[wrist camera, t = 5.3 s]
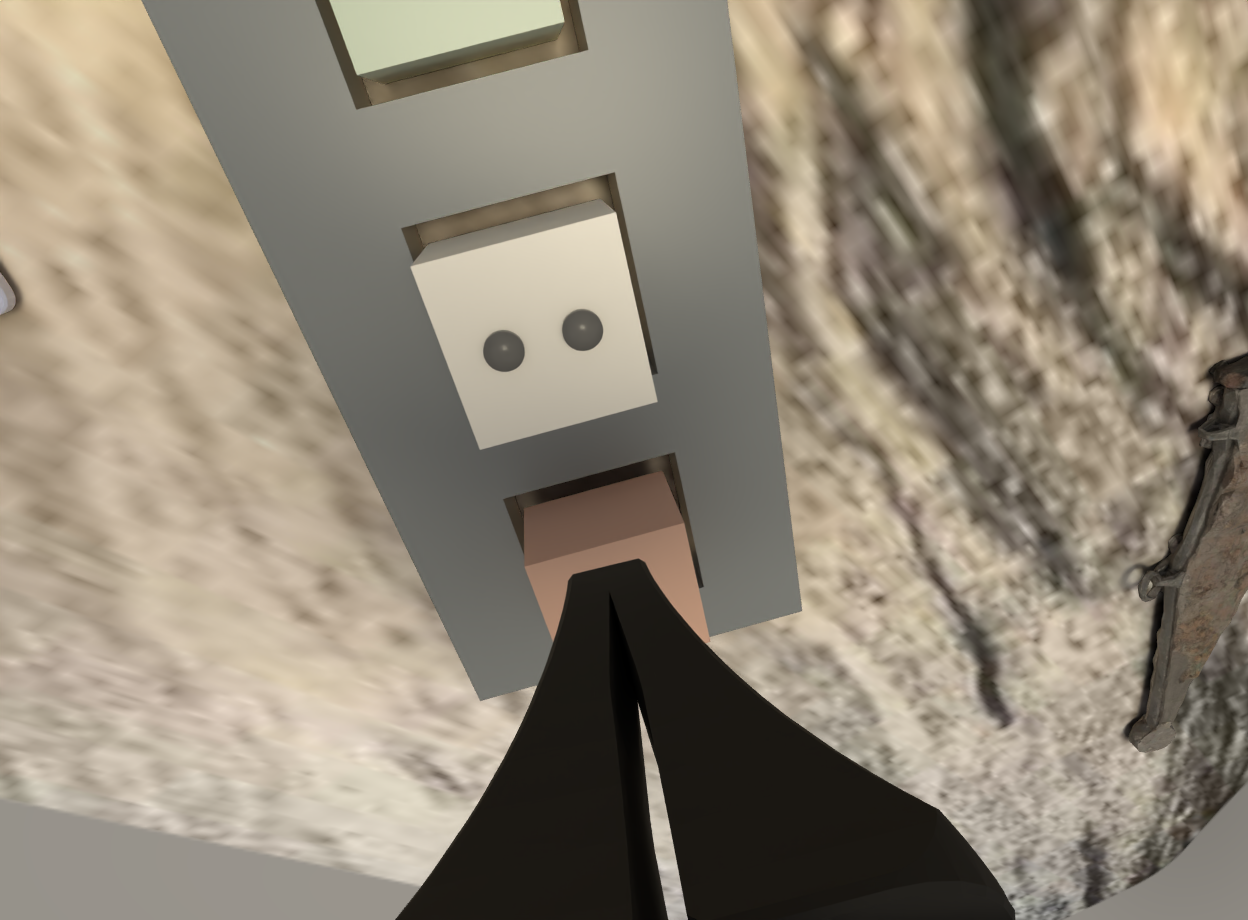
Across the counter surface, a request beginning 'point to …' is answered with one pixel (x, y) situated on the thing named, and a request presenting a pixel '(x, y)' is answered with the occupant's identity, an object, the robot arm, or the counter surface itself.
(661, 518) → the key one
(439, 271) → the key two
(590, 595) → the robot arm
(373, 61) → the key three
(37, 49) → the counter surface
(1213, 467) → the decorative dagger
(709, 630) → the keypad
